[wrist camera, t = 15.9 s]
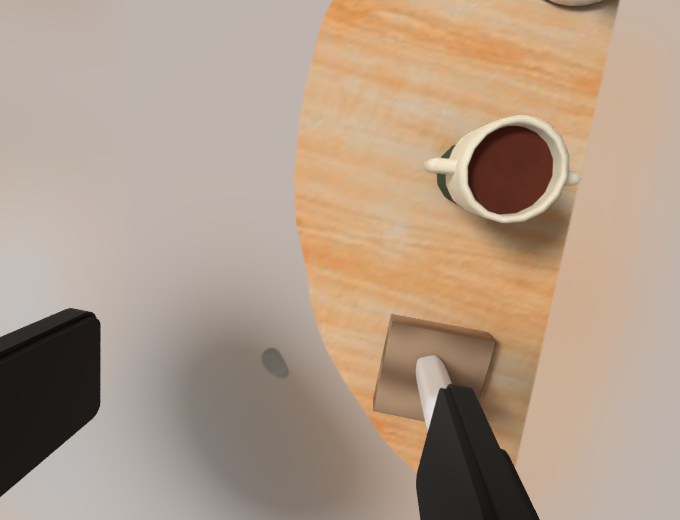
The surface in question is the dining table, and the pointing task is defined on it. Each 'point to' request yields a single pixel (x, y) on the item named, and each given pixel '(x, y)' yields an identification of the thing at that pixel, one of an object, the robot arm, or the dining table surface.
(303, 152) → the dining table surface
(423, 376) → the eye dropper bottle
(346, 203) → the dining table surface
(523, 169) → the character mug
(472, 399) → the robot arm
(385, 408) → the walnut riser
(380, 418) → the dining table surface
